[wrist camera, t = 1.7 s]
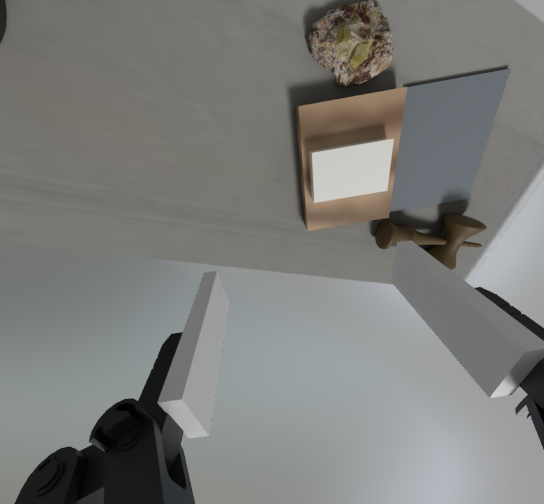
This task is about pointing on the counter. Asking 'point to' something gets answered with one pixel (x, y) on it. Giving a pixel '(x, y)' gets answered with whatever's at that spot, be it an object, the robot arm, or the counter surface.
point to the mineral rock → (352, 42)
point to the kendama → (433, 237)
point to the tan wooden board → (341, 131)
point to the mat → (444, 138)
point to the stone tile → (350, 169)
